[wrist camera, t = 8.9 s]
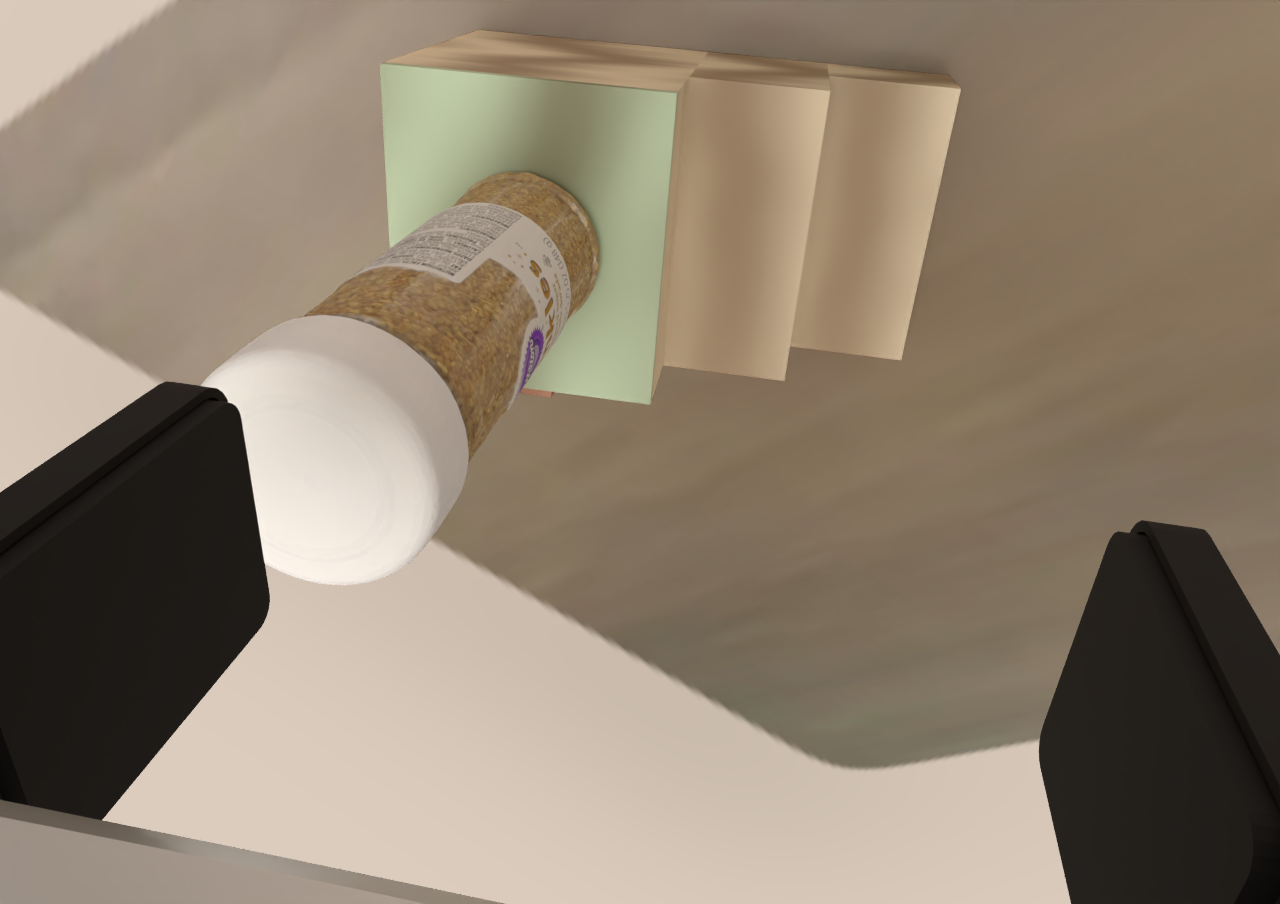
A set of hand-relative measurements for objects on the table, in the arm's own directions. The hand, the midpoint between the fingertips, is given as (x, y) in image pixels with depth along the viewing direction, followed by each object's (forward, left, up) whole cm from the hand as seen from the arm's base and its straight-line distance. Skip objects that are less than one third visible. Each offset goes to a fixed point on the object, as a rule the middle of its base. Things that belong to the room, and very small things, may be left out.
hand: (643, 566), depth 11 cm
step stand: (+2, +3, -27) cm, 27 cm away
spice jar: (+6, +3, -18) cm, 19 cm away
